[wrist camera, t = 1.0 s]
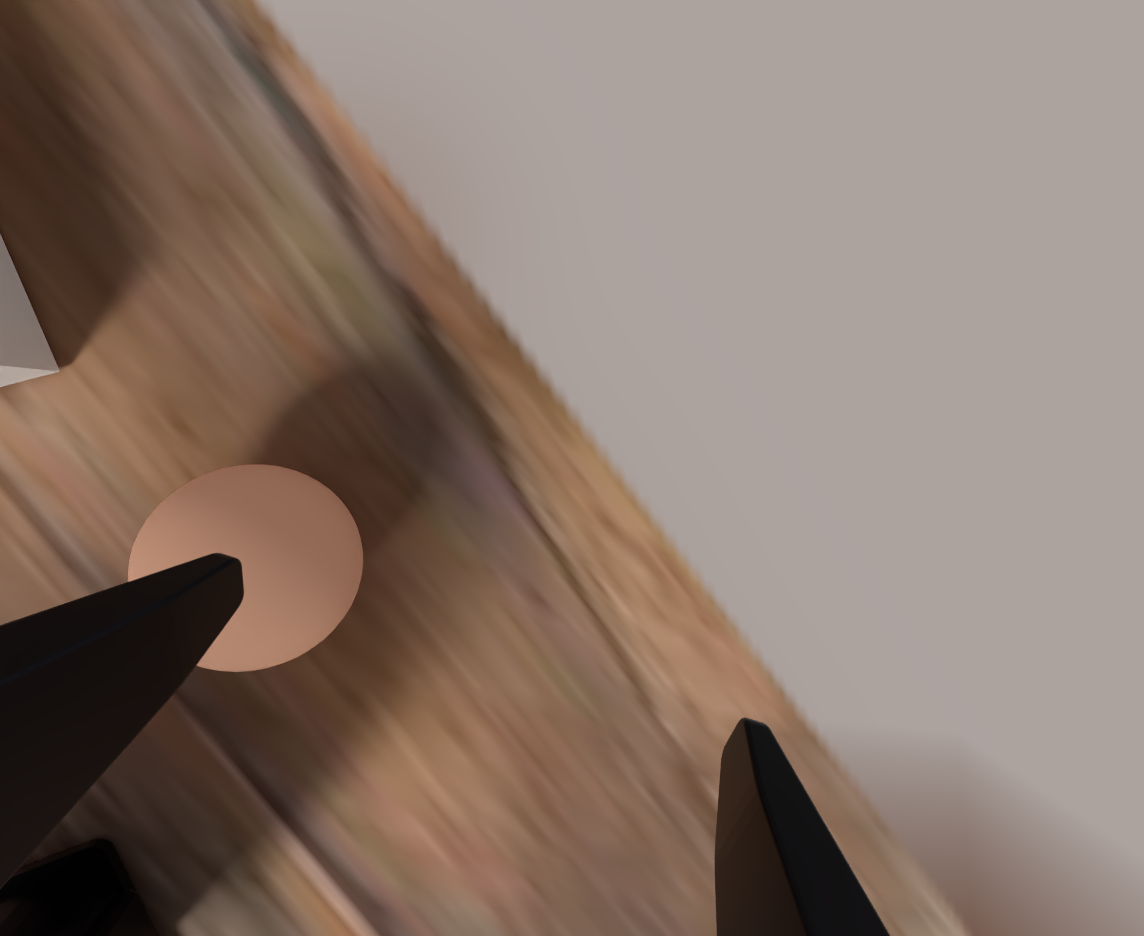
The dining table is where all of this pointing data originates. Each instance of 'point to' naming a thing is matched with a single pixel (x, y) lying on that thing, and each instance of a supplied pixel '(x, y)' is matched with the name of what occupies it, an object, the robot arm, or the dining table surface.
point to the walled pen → (20, 330)
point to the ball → (261, 557)
